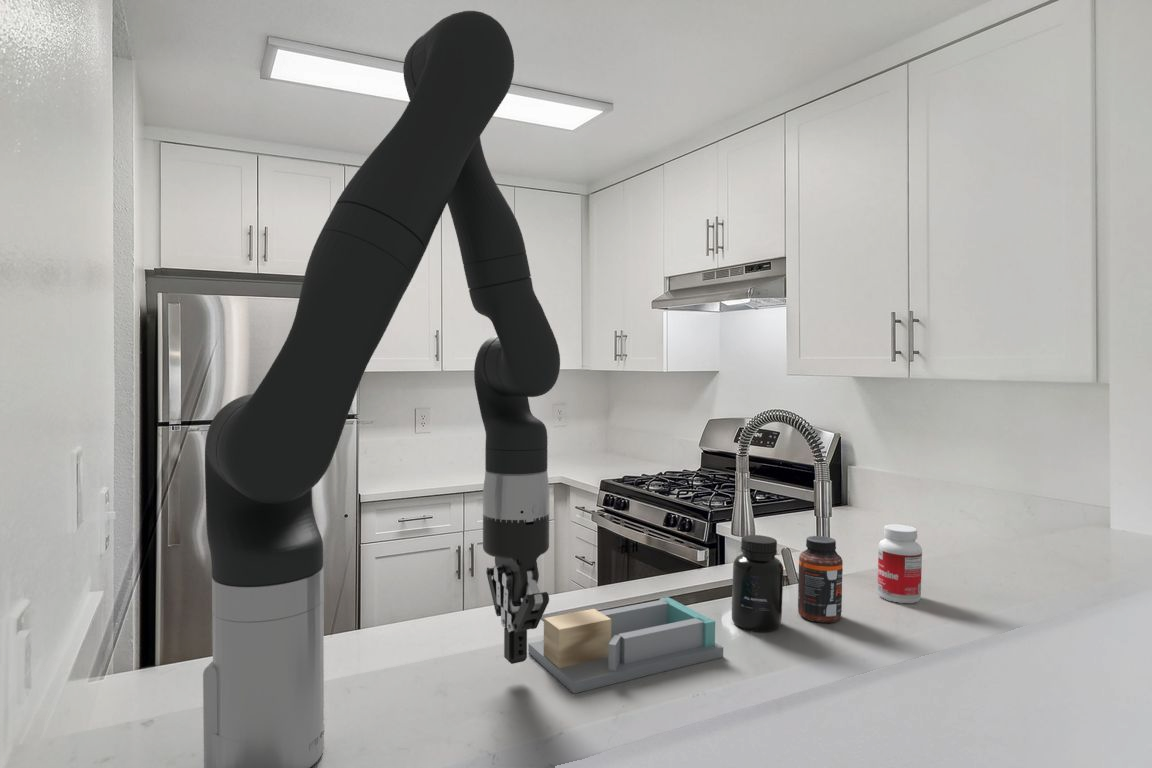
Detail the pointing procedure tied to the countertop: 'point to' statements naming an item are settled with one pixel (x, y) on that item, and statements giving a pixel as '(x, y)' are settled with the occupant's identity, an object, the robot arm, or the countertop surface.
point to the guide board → (641, 645)
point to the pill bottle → (899, 565)
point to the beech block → (576, 637)
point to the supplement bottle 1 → (757, 585)
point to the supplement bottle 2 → (820, 581)
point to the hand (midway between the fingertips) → (515, 660)
